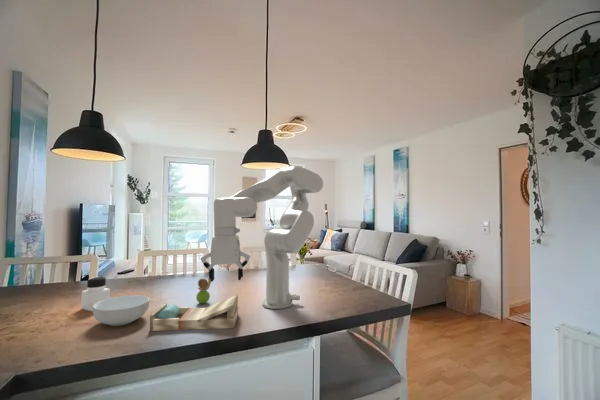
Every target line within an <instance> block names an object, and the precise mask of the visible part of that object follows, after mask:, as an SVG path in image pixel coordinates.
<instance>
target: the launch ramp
mask: <svg viewBox="0 0 600 400" xmlns="http://www.w3.org/2000/svg"><path fill="white" fill-rule="evenodd" d="M238 299H239V295H238V294H236V295H234V296H231V297H229V298H226V299H224V300H221V301H219V302H216V303H214V304H212V305H209V306H207V307H189V306H178V308H179V314H178V316H177V317H176V318H162V319H156V316H157V315H158V314H159V313H160V312H161V311H162V310H164V309H165V308H166V307H167V306H168V305H167V304H168V303H163V304H161V306H159V307H158V308H157V309H156V310H155V311H153V312H152V313H151V314H150V315H149V331H151V332H153V331H155V332H156V331H158V332H159V331H183V330H184V331H185V330H187V331H188V330H190V331H191V330H211V329H214V330H215V329H217V330H218V329H235V326H236V323H237V319H238V317H239V306H238V301H239V300H238Z"/></svg>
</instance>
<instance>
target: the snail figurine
mask: <svg viewBox="0 0 600 400" xmlns="http://www.w3.org/2000/svg"><path fill="white" fill-rule="evenodd" d="M211 283H212V282H211V280H210V279H209V278H208V279H205V278H204V277H202V278H200V279H199V280H198V282H197V285H198V287H197V289H198V290H199V292H197V294H196V301H197V302H198V303H199V304H203V305H204V304H206V303H207V302H209V300H210V297H211V295H210V292H209V291H208V290H209V289H210V287H211Z"/></svg>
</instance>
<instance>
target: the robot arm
mask: <svg viewBox="0 0 600 400" xmlns="http://www.w3.org/2000/svg"><path fill="white" fill-rule="evenodd" d="M287 188H290V191H291V192H290V193H291V201H290V202H289V204H288V206H287V207H286V209H285V211H284V212H283V214H282V215H281V217H280V220H279V227H280V228H272V229H271V230H269V231H268V232H266V234H265V236H264V249H265V253H266V254H265V255H266V257H265V258H266V273H265V275H266V280H265V281H266V283H265V284H266V287H265V292H266V293H265V295H266V297H265V299H263V300H262V306H263V308H264V307H265V308H267V309H272V310H280V309H288V308H289V307H292V306H293V301H300V299H301V297H300V295H299V294H296V293H295V294H292V293H290V260H289V259H290V258H289V256H288V254H297V253H298V252H300V250H302V248H303V247H304V245H305V244H306V241H307V239H308V238H309V236H310V234H311V232H312V231H313V229H314V224H315V218H314V215H313V213H312V212H310V211H309V201H308V198H307V194H316V193H319V192H320V191H321V190H322V189H323V188H324V181H323V179H322V177H321V175H319V174H318V173H315V172H314V171H311V170H310V169H307V168H305V167H302V166H299V165H293V166H287V167H286V166H285V167H281V168H279V169H277V170H276V171H274V172H273V173H272V174H270V175H269V176H267V177H266V178H264V179H263V180H260V181H259V182H257V183H255V184H253V185H250V186H248V187H246V188H244V189H242V190H240V191H238V192H236V193H235V194H234V195H232V196H230V197H217V198H215V199H214V200H213V226H214V227H213V228H214V229H213V233H214V235H213V236H212V238H211V243H210V244H211V245H210V246H211V247H210V252H209V253H207V254H205V255H203V256H201V257H200V261H201V263H202V264H203V267H205V268H206V269H207V271H208V279H210V280H211V283H213V282H214V281H215V269H214V266H217V265H218V266H219V265H221V266H222V265H223V266H224V265H236V266H237V267H238V269H237V276H238V277H237V278H238V279H237V280H238V281H241V280H242V278H243V277H244V275H243V274H244V271H243V269H244V267H245V266H246V265H248V262H249V260H250V258H251V255H250V254H248V253H245V251H242V250H241V244H240V237H239V235H238V234H237V233H241V230H240V228H237V222H236V220H237V219H236V218H249V217H252V216H254V215H255V214H256V213H257V210H258V203H262V202H266V201H270V200H272V199H274V198H276V197H277V196H278V195H279V194H281V193H282V192H284V191H285V190H286V189H287ZM241 257H243V258H245V259H244V260H243V262H241ZM208 258H210V263H209V262H208V261H207V259H208Z"/></svg>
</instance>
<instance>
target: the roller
mask: <svg viewBox="0 0 600 400" xmlns="http://www.w3.org/2000/svg"><path fill="white" fill-rule="evenodd" d="M178 307H179V306H178V305H177V304H172V303H171V304H169V305H167V307H166V308H165V309H164V310H162V311H161V312H160V313H159V314H158V315H157V316H156V319H162V318H176V317H177V316H178V314H179V308H178Z"/></svg>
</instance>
